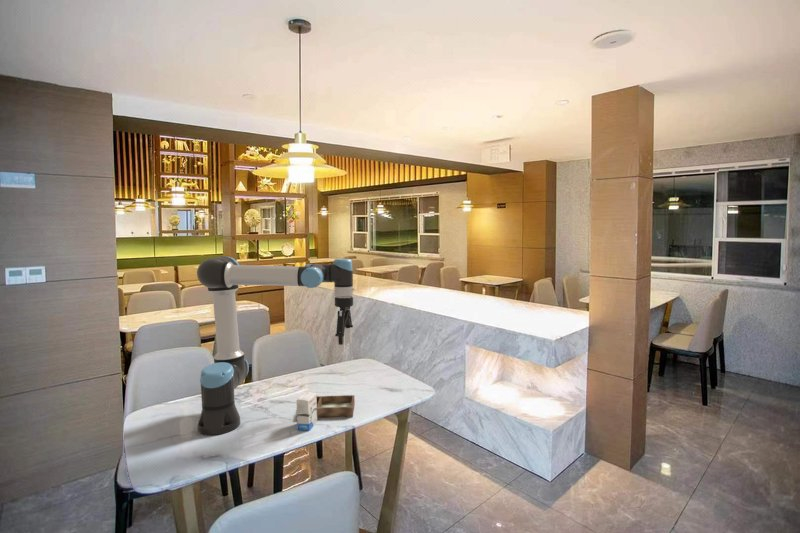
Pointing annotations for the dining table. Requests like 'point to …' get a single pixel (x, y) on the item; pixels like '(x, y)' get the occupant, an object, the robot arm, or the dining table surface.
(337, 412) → the organiser
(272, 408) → the dining table surface
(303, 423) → the ink box
